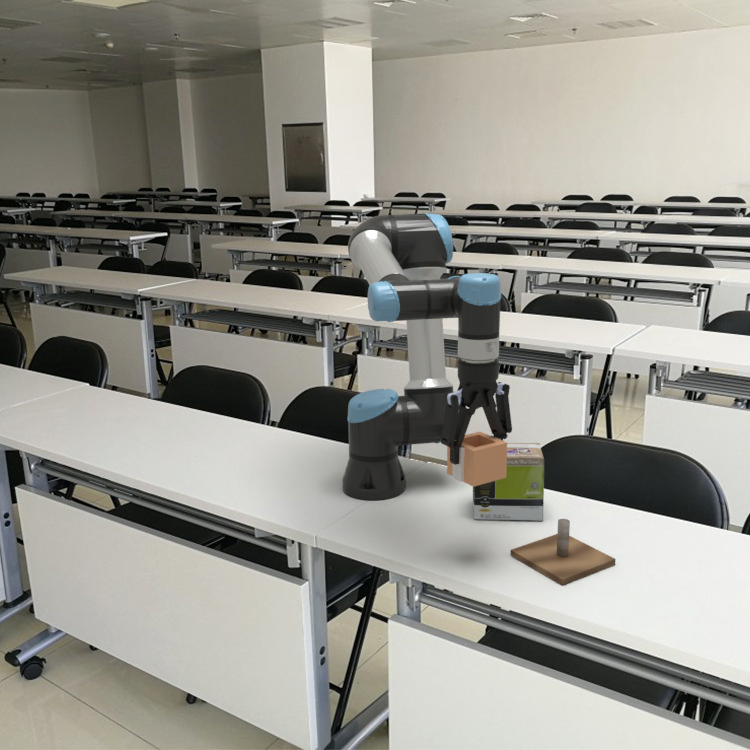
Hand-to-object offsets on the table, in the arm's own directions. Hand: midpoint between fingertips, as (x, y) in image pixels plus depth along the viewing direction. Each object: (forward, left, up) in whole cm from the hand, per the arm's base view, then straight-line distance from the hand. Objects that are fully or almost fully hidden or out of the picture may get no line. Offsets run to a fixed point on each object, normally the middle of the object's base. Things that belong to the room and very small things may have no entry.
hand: (476, 473), depth 153 cm
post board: (+11, +13, -17) cm, 24 cm away
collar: (0, 0, 0) cm, 0 cm away
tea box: (-12, +19, -18) cm, 29 cm away
